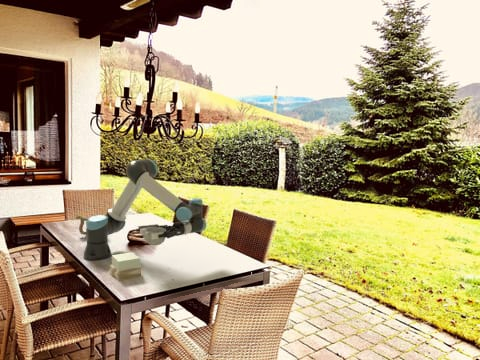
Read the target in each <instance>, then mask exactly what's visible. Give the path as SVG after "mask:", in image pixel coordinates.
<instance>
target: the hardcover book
mask: <svg viewBox="0 0 480 360" xmlns="http://www.w3.org/2000/svg"><path fill="white" fill-rule="evenodd" d="M150 226H160V225H159V224H158V223H157V224H156V223H155V224H148V225H138V226H137V228H140V229H143V228H148V227H150ZM140 229H139V230H140Z"/></svg>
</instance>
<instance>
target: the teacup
mask: <svg viewBox="0 0 480 360" xmlns="http://www.w3.org/2000/svg"><path fill="white" fill-rule="evenodd" d="M165 231H166V229H164V228H161V227H148V228H146V229H145V234H143V239H144V240H145V242H146V243H147V244H149V245H150V246H160V245H161V244H163V243H164V242H165V240H166V238H164V237H163V238H159V239H153V240H152V234H155V233H161V232H163V234H164V232H165Z"/></svg>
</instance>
